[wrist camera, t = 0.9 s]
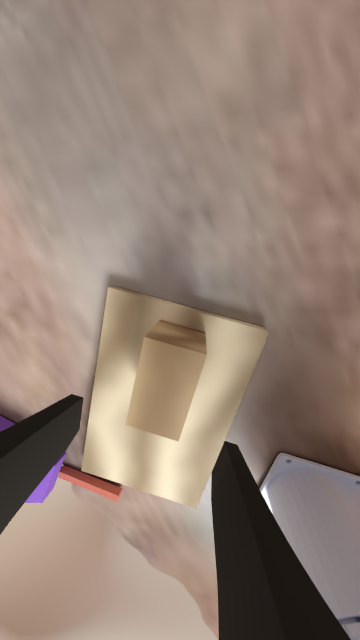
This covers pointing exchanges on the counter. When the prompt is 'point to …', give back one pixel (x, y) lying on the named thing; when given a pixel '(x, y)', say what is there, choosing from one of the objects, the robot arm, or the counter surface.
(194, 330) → the block
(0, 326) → the counter surface
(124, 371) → the board
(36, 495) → the bracket
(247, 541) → the robot arm
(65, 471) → the red square bar
